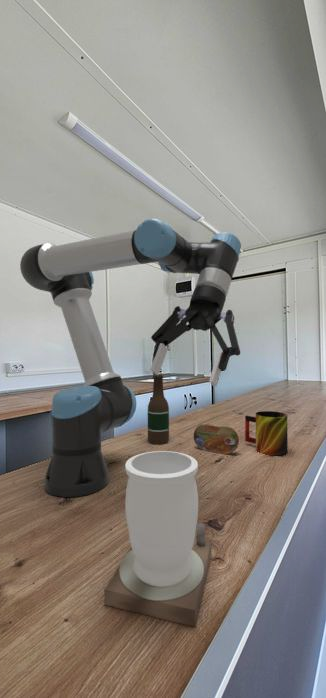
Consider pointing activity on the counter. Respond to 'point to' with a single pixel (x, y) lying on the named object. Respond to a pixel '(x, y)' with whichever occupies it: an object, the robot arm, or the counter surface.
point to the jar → (161, 515)
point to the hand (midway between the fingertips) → (182, 378)
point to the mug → (269, 433)
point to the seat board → (162, 601)
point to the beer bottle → (158, 414)
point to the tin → (216, 438)
